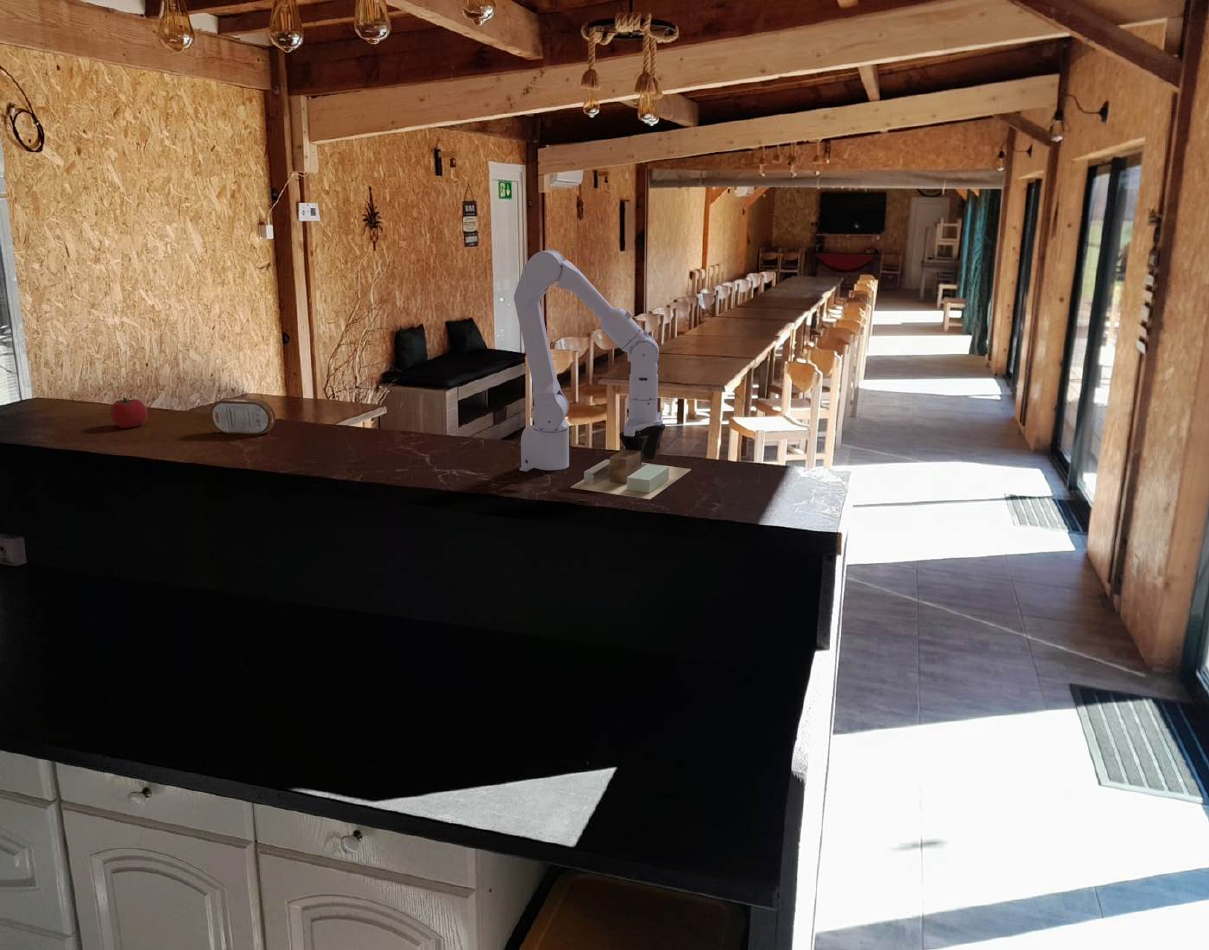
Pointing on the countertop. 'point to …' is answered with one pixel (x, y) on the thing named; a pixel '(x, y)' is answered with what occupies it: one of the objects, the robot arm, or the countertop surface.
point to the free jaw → (647, 478)
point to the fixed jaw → (597, 473)
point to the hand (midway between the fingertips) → (642, 462)
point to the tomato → (128, 413)
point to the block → (624, 465)
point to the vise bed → (621, 489)
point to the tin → (242, 416)
